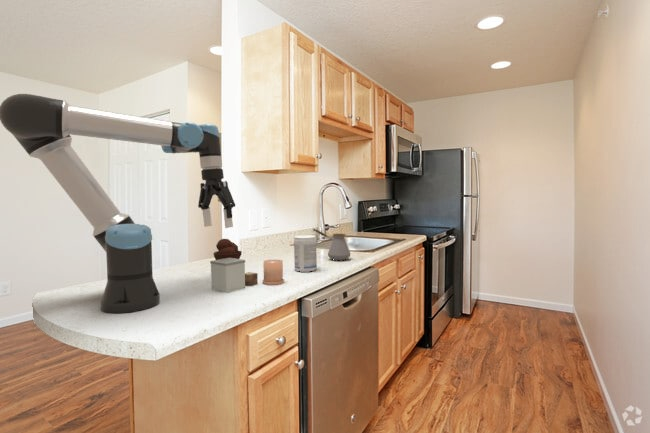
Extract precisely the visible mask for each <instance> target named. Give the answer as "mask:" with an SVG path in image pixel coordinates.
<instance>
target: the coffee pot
mask: <svg viewBox="0 0 650 433" xmlns="http://www.w3.org/2000/svg"><path fill="white" fill-rule="evenodd" d="M314 232H315V233H318V234H319V235H322V236H323V237H326V238H327V239H330V240H331V241H332V242H331V245H330V246H329V247H330V248H329V250H328V252H327V256H328V258H330V259H334V260H345V259H347V260H348V259H349V258H350V257H351V251H350V249H349V247H348V244H347V241H346V239H345V236H346V233H332V235H333V237H331V236H330V235H329V236H328V235H327V234H326V233H324V232H322V231H320V230H318V229H315V228H313V229H312V233H314ZM334 260H333V261H334ZM345 261H346V260H345Z"/></svg>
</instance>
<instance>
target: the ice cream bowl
mask: <svg viewBox="0 0 650 433" xmlns="http://www.w3.org/2000/svg"><path fill="white" fill-rule="evenodd" d="M215 248H216V249H217V251H214V252H213V257H214V259H215V260H219V259H225V258H235V259H240V258H241V257H242V252H243V251H242V250H239V246H238V245H237V244H236V243H235V242H232V241H231V240H230V239H228V238H221V239H219V240H218V241H217V243H216V247H215Z"/></svg>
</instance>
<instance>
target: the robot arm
mask: <svg viewBox="0 0 650 433" xmlns="http://www.w3.org/2000/svg"><path fill="white" fill-rule="evenodd" d="M0 123H1V125H2V126H3V128H5V130H7V131H8V132H9V133H10V134H11V135H12V136H13V137H14V138H15V139H16V141H17V142H18V143H19V145H20V146H21V147H22V149H23V150H25V152H26V154H28V155H29V157H32V158H36V159H38V160H40V161H41V162H42V163H43V165H44V166H45V168H46V169H47V170H48V172H50V174H51V175H52V176H53V178H54V179H55V180H56V181H57V183H58V184H59V185H60V187H61V188H62V189H63V190H64V192H65V193H66V195H67V196H68V197H69V198H70V199H71V201H72V202H73V203H74V204H75V206H76V207H77V208H78V209H79V211H80V212H81V213H82V215H83V216H84V217H85V218H86V220H87V221H88V222H89V224H90V225H91V226H92V227H93V233H92V236H93V238H94V239H95V241H97V243H98V244H99V245H100V247H102V249H103V251H105V253H106V276H107V277H106V278H107V281H106V285H105V288H104V292H103V294H102V297H101V301H100V310H101V311H102V312H105V313H111V314H112V313H113V314H115V313H116V314H119V313H132V312H138V311H142V310H147V309H150V308H152V307H155V306H157V305H159V303H160V302H161V300H160V296H161V295H160V292H159V290H158V287H157V285H156V282H155V279H154V277H153V276H154V275H153V248H152V247H153V246H152V241H153V234H152V229H151V228H150V226H148V225H146V224H140V223H135V221H134V220H133V219H132V218H131V216H130V215H129V214H126V213H123V212H121V211H120V210H119V208H118V207H117V206H116V205H115V204H114V202H113V201H112V199H111V198H110V197H109V195H108V194H107V192H106V191H105V190H104V189H103V187H102V186H101V183H99V181H98V180H97V179H96V178H95V176H94V175H93V174H92V173H91V171H90V170H89V168H88V166H86V164H85V163H84V161H82V159H81V157H80V156H79V155H78V153H77V152H76V151H75V148H73V147H72V141H73V137H72V135H73V136H81V137H88V138H97V139H105V140H114V141H122V142H129V143H130V142H131V143H139V144H145V145H155V146H161V150H162V152H163V153H165V154H172V155H173V154H187V153H188V154H190V153H191V154H192V153H198V154H199V163H200V164H199V165H200V168H201V171H200V172H201V179H202V181H204V182H201V183H200V192H199V197H198V198H199V199H198V205H197V206H198V208H200V209H201V210H202V216H203V226H204V228H206V227H212V226H213V224H212V216H211V208H210V204H211V202H212V198H213V196H214V195H215V196H217V198H218V199H219V201H220V203H221V204H222V206H223V219H224V228H225V229H228V228H234V224H233V210H232V209H233V208H235V207H236V203H235V200H234V198H233V196H232V193H231V191H230V189H229V183H228V181H227V180H223V179H224V169H222V168H223V159H222V152H221V149H222V148H221V138H220V132H219V127H218V126H217V125H216V124H210V123H208V124H207V123H206V124H197V123H195V122H191V121H190V122H189V121H187V122H183V123H181V122H174V121H169V120H164V119H157V118H150V117H145V116H137V115H131V114H126V113H121V112H120V113H119V112H113V111H107V110H99V109H93V108H88V107H81V106H76V105H70V104H69V103H68V102H67V101H66V100H62V99H57V98H51V97H46V96H43V95H42V96H41V95H36V94H30V93H18V94H13V95H10V96H8V97H6V98H5V99H4V100H3V101H2V102H1V104H0Z"/></svg>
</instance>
